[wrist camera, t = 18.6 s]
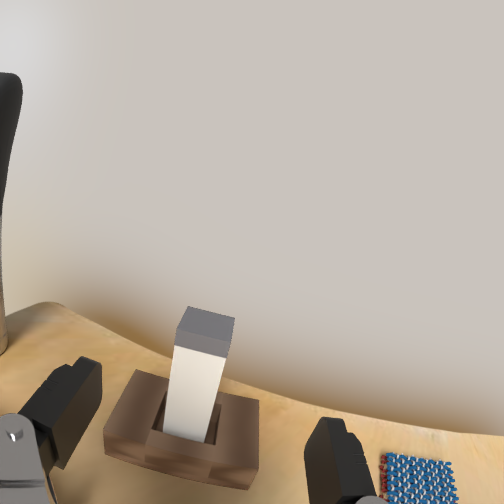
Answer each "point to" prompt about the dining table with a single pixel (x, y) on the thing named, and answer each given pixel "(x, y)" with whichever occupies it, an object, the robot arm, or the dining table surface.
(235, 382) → the dining table surface
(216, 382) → the grey-capped white post
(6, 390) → the dining table surface
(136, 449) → the brown square socket block
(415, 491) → the woven mat
